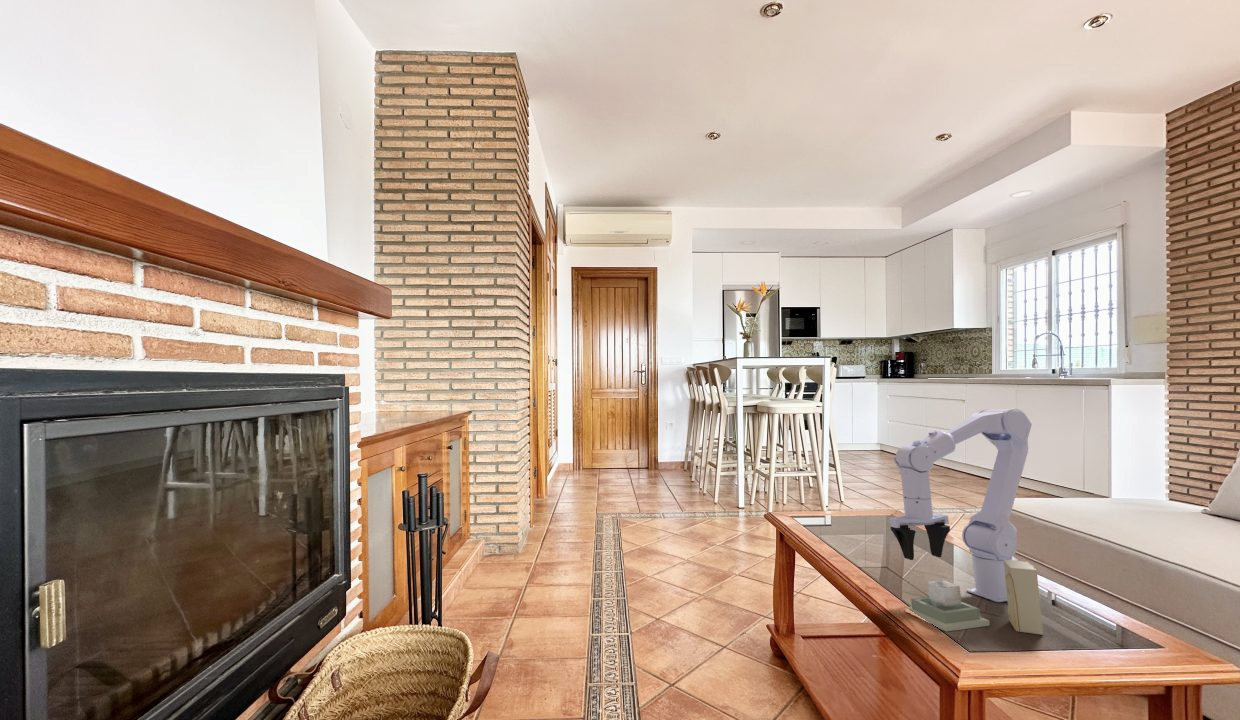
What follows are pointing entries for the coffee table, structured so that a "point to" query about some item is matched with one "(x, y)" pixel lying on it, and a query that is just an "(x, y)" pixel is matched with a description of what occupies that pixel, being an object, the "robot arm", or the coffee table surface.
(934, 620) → the tray
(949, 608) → the aluminium block
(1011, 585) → the skincare box
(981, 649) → the coffee table surface
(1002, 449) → the robot arm
